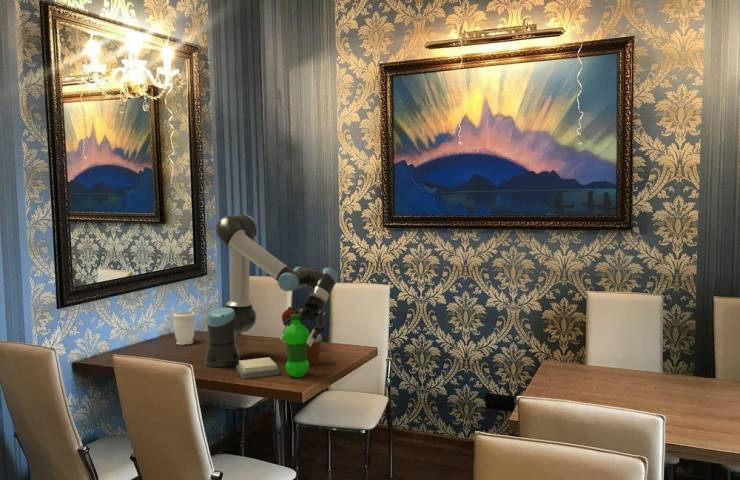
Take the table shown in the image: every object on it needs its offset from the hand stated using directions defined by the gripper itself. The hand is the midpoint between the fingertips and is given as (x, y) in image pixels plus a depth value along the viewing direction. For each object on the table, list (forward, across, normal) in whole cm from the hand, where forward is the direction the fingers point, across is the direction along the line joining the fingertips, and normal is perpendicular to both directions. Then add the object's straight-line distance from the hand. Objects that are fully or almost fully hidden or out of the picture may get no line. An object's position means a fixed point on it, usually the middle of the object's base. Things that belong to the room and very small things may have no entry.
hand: (295, 342), depth 253 cm
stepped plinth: (+12, +18, -8) cm, 23 cm away
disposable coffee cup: (-4, +8, -25) cm, 26 cm away
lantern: (-15, +31, -35) cm, 50 cm away
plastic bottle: (+9, +1, -11) cm, 14 cm away
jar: (-3, +86, -23) cm, 89 cm away
